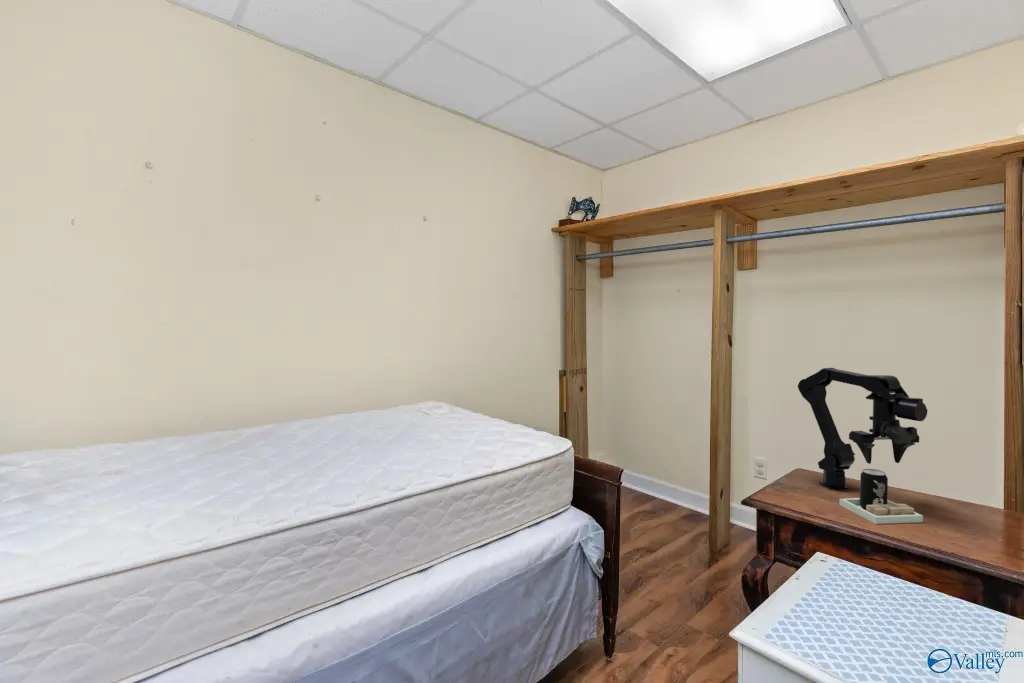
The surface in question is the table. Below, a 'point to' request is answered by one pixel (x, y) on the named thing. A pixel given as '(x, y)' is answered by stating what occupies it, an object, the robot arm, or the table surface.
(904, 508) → the maple cube
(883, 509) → the maple cube
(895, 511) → the maple cube
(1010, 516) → the table surface
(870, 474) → the beverage can
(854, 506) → the tray
